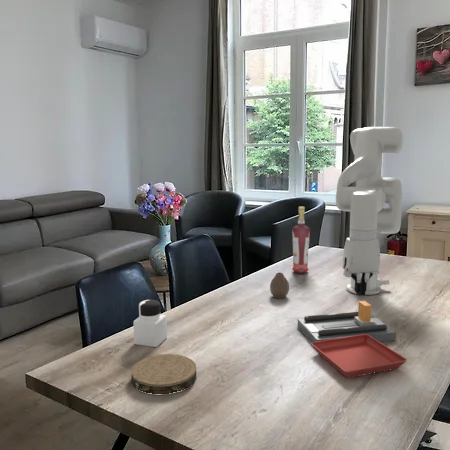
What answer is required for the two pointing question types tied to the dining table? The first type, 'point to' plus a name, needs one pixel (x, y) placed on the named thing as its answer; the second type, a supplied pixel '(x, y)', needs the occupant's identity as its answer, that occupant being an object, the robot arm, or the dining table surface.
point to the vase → (279, 286)
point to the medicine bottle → (150, 324)
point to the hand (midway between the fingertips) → (360, 293)
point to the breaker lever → (364, 314)
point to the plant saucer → (358, 355)
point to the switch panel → (342, 327)
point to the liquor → (300, 244)
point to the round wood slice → (163, 374)
